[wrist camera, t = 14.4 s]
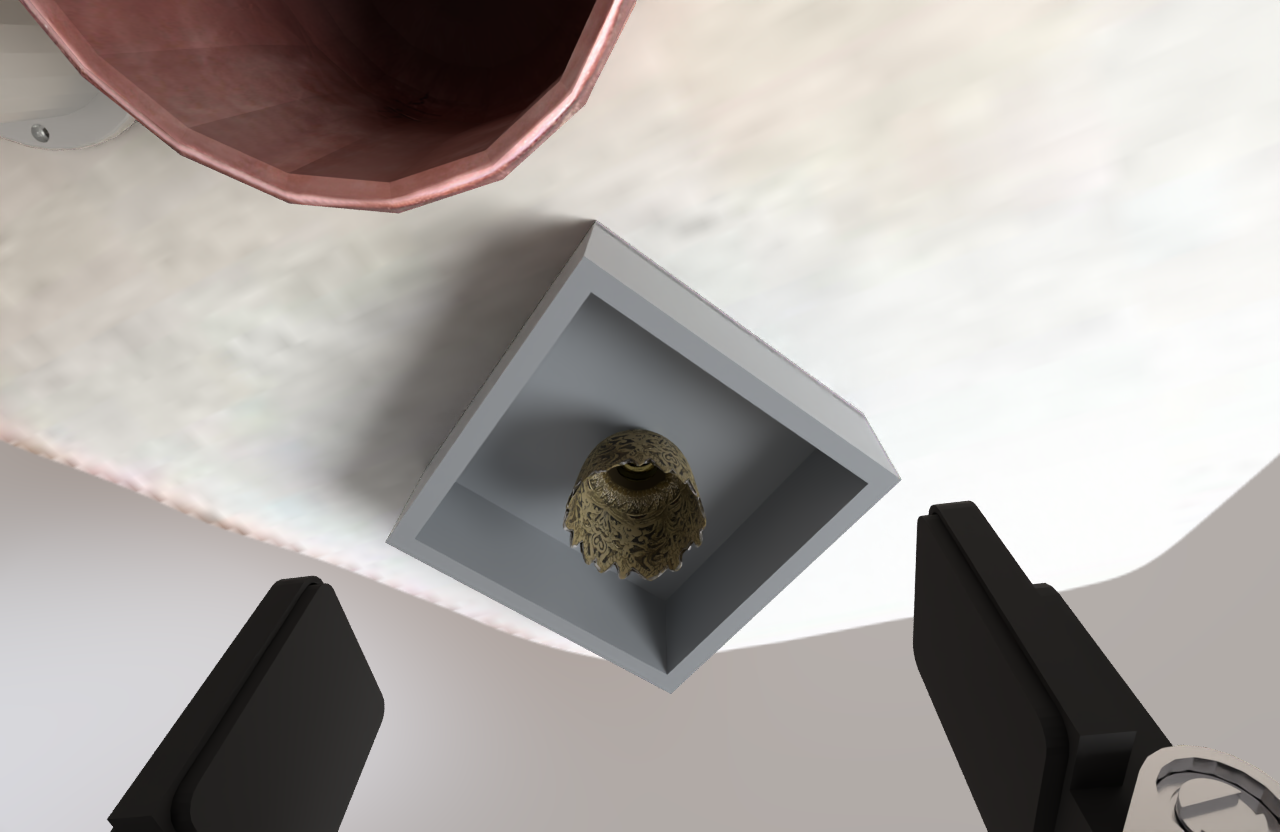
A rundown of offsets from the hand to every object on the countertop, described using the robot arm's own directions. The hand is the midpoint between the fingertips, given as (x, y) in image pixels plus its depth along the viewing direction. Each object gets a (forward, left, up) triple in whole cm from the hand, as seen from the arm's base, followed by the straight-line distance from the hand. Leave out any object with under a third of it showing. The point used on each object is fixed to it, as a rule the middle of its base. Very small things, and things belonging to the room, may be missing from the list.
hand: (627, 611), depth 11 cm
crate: (+8, -12, -30) cm, 33 cm away
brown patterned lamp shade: (+8, -12, -29) cm, 33 cm away
